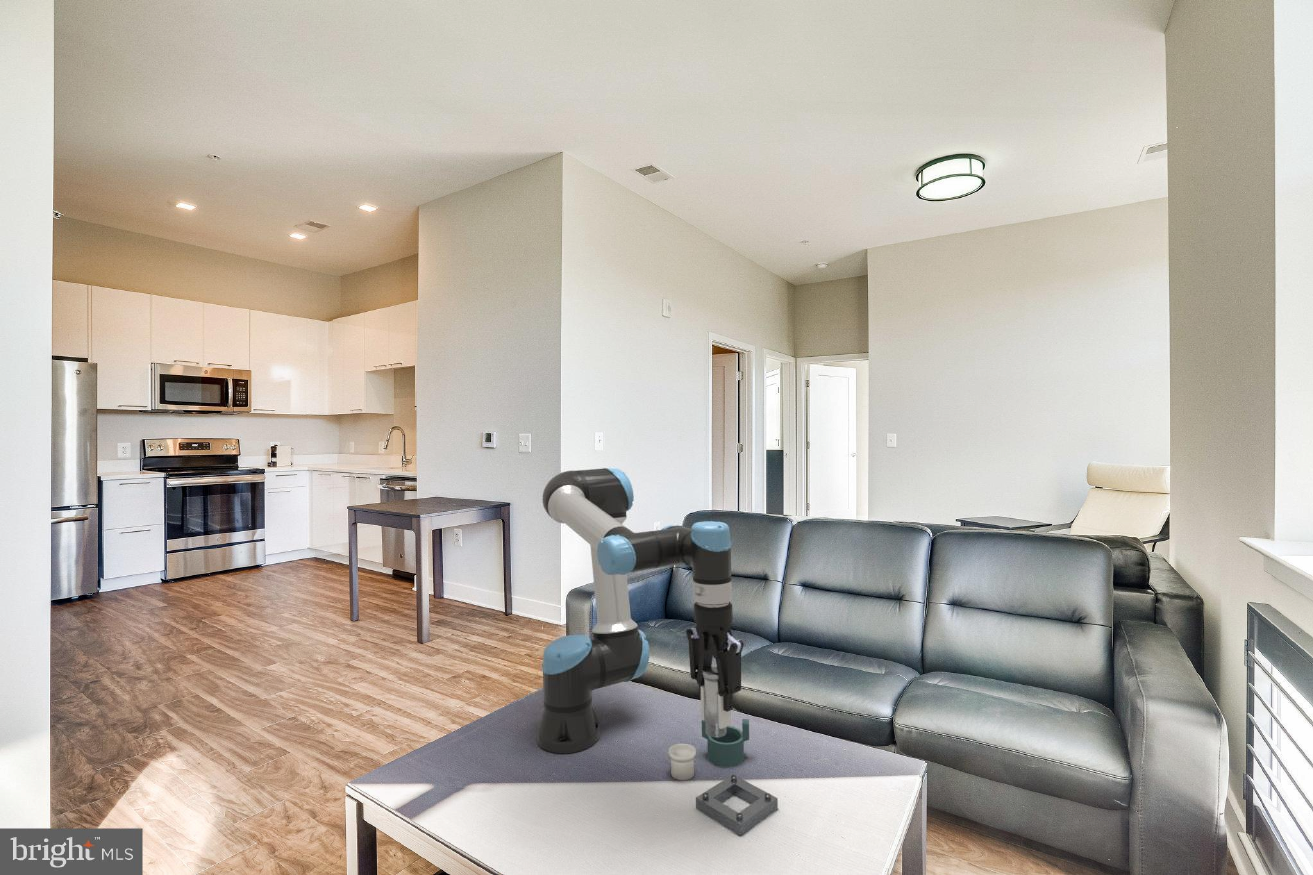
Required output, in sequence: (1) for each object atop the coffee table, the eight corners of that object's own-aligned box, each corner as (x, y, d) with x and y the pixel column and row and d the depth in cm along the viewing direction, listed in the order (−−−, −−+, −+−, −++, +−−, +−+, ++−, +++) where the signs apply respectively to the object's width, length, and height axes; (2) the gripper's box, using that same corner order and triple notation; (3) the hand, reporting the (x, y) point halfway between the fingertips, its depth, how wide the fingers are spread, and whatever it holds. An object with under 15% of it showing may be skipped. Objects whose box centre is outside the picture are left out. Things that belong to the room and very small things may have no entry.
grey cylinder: (699, 732, 120) (697, 670, 120) (715, 724, 123) (714, 664, 123) (716, 740, 116) (714, 677, 116) (732, 732, 119) (731, 670, 119)
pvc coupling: (663, 773, 133) (663, 750, 133) (682, 762, 137) (682, 740, 137) (682, 784, 129) (682, 761, 128) (701, 773, 133) (701, 750, 132)
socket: (696, 808, 121) (695, 794, 121) (733, 784, 128) (733, 771, 128) (740, 836, 112) (740, 821, 112) (777, 809, 120) (777, 795, 120)
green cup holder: (753, 759, 138) (752, 720, 138) (720, 771, 133) (719, 730, 133) (729, 742, 145) (728, 704, 145) (696, 753, 141) (696, 714, 141)
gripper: (669, 597, 123) (672, 713, 123) (732, 615, 110) (736, 744, 111) (696, 590, 128) (699, 702, 128) (759, 606, 115) (762, 730, 115)
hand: (716, 721), depth 119 cm, fingers closed on grey cylinder, 4 cm apart
